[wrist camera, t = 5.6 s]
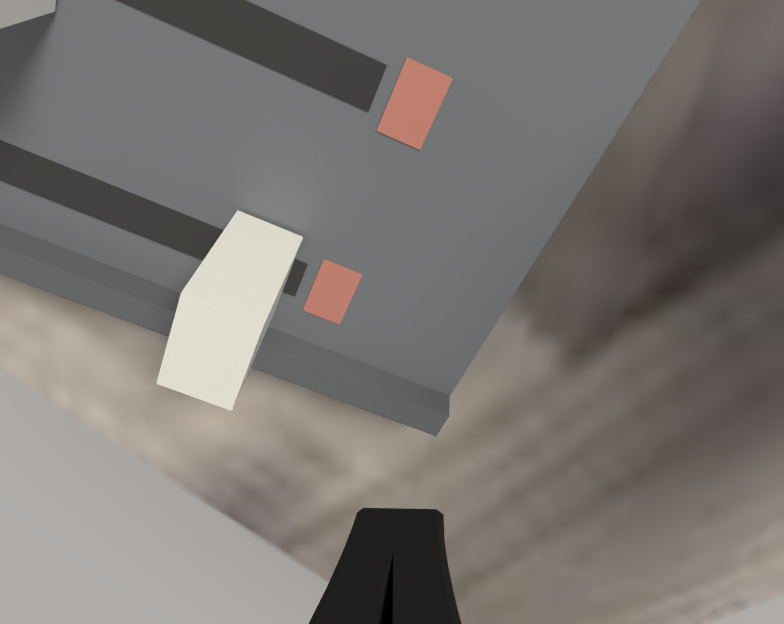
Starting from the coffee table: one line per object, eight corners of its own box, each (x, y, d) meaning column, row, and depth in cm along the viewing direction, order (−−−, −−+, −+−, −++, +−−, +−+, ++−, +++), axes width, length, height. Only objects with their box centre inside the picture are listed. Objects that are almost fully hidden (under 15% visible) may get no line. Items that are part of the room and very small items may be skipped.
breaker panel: (819, -233, 11) (885, -254, 9) (437, 387, 19) (436, 436, 17) (-191, -832, 8) (-350, -1006, 7) (-131, 168, 16) (-197, 200, 15)
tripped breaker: (303, 237, 15) (263, 324, 12) (273, 313, 16) (231, 411, 13) (237, 210, 15) (180, 292, 12) (212, 290, 16) (156, 383, 13)
